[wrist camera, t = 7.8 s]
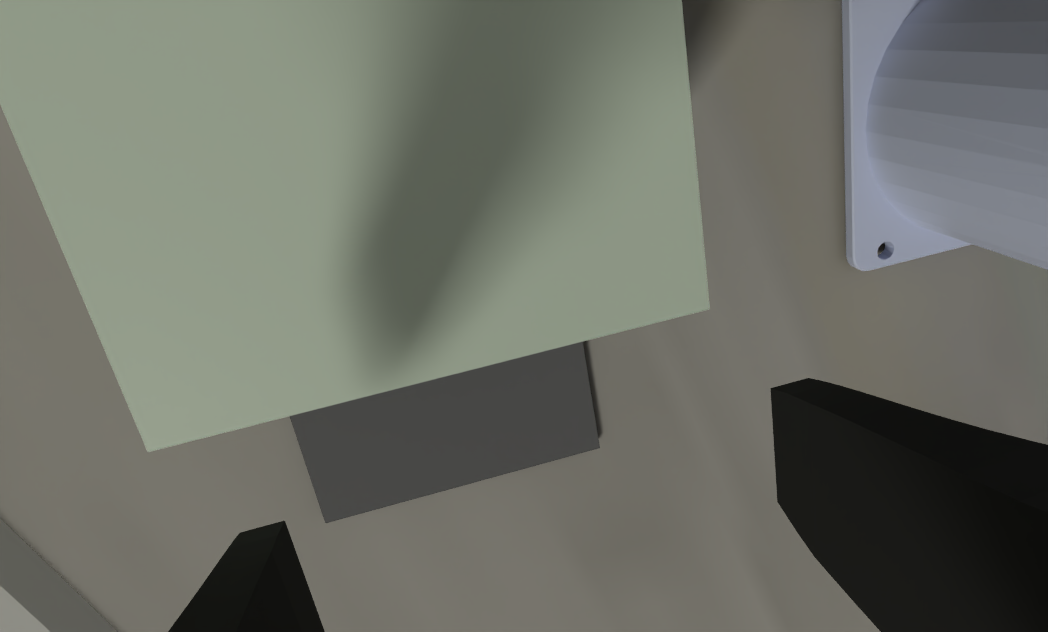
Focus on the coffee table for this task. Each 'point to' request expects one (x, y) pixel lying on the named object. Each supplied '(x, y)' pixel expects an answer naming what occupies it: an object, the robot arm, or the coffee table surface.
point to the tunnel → (353, 188)
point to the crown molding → (39, 594)
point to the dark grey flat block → (448, 431)
